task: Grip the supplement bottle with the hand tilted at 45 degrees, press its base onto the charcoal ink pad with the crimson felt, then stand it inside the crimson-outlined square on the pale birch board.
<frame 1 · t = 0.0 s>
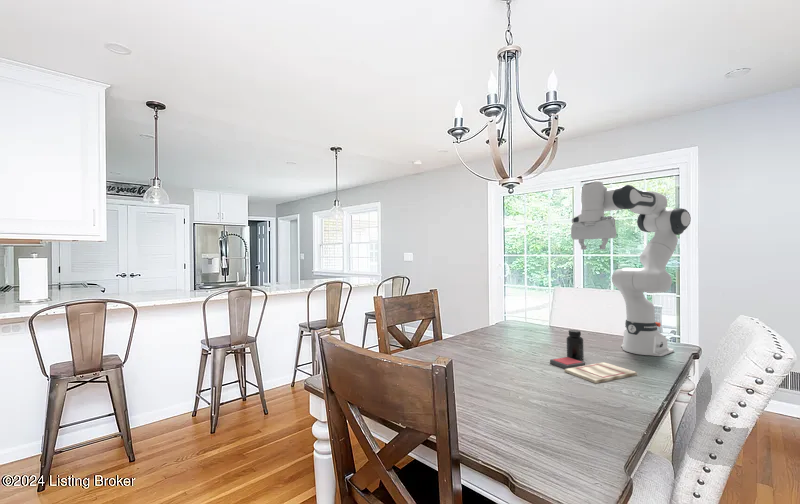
hand: (592, 249, 161), 48 cm above the table, tool pointing down, fingers open, 8 cm apart
marked board: (600, 373, 143), on the table
ink pad: (567, 364, 154), on the table
supplement bottle: (575, 358, 164), on the table
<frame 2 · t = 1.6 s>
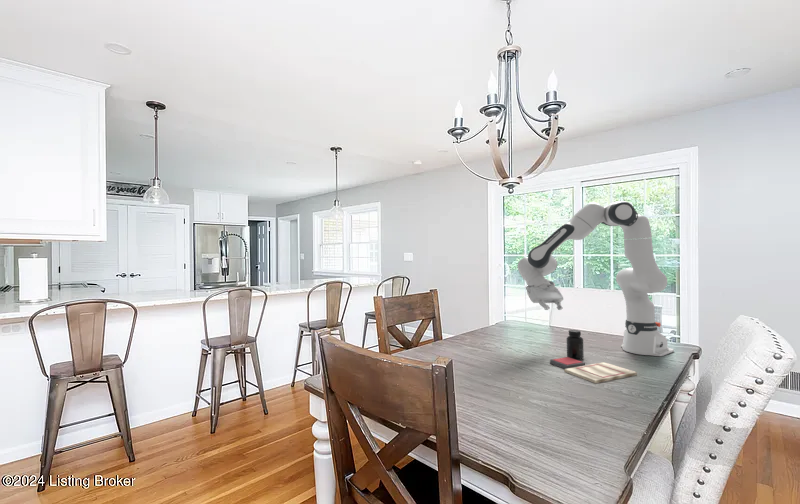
hand: (554, 309, 173), 20 cm above the table, tool tilted 45°, fingers open, 8 cm apart
nothing on the table moved.
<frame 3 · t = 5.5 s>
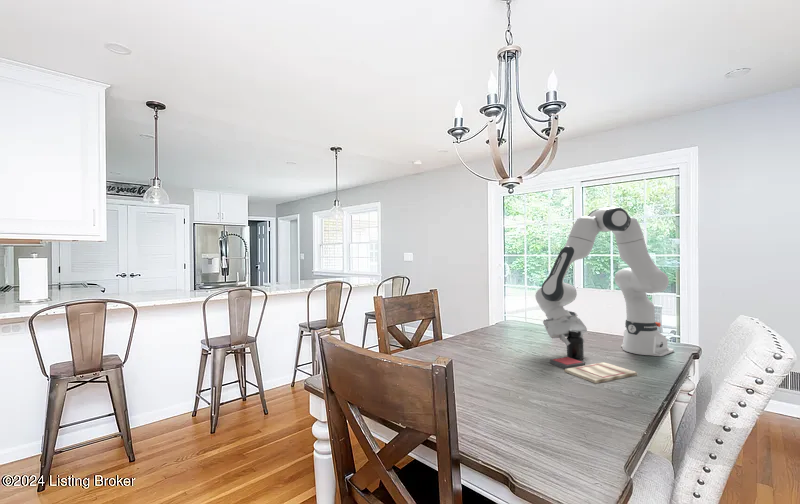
hand: (576, 343, 163), 6 cm above the table, tool tilted 45°, fingers closed on supplement bottle, 7 cm apart
supplement bottle: (575, 358, 164), on the table, touching gripper
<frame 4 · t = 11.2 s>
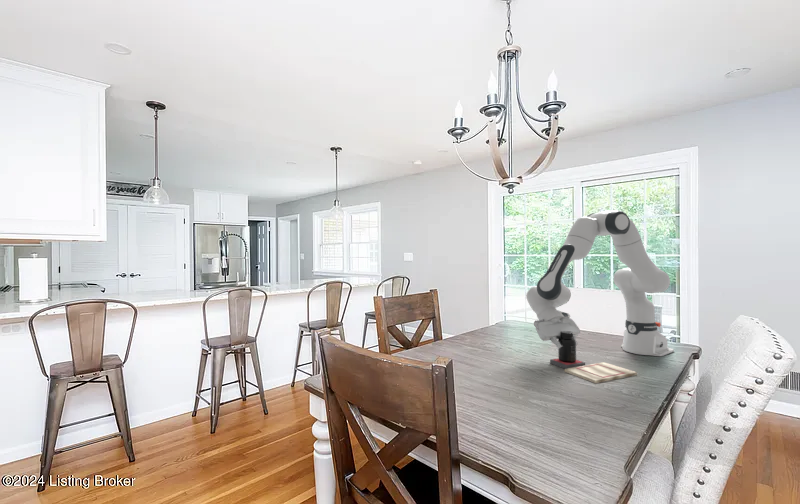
hand: (568, 346, 153), 8 cm above the table, tool tilted 45°, fingers closed on supplement bottle, 7 cm apart
supplement bottle: (567, 361, 154), point 2 cm above the table, touching gripper, ink pad
when the fingers open (9 cm above the table, at t = 17.1 s): supplement bottle drops 1 cm, resting on marked board.
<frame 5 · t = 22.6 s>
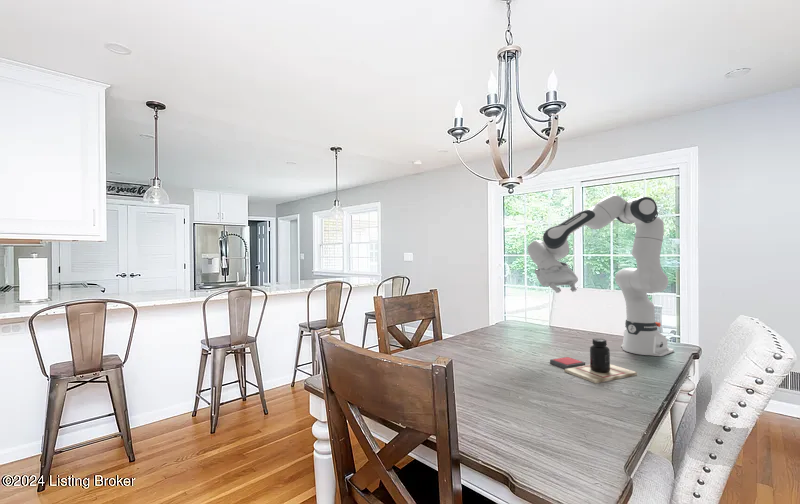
hand: (566, 291, 165), 29 cm above the table, tool tilted 45°, fingers open, 8 cm apart
supplement bottle: (599, 371, 143), point 1 cm above the table, touching marked board
at the end: supplement bottle 0.1 cm off-centre on the marked board, point 0.8 cm above the marked board's base; supplement bottle tilted 0°; the gripper is holding nothing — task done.
